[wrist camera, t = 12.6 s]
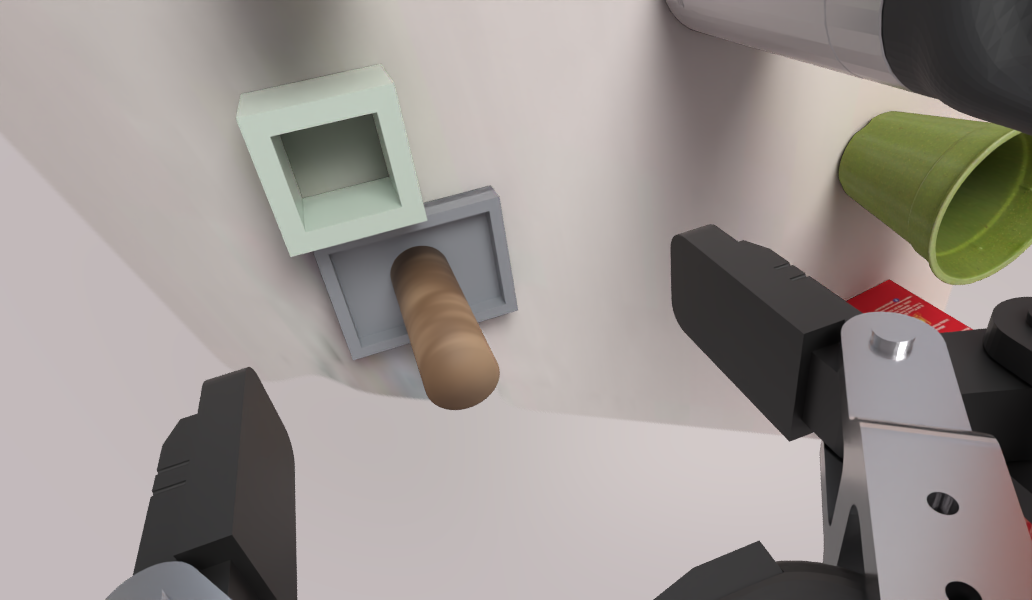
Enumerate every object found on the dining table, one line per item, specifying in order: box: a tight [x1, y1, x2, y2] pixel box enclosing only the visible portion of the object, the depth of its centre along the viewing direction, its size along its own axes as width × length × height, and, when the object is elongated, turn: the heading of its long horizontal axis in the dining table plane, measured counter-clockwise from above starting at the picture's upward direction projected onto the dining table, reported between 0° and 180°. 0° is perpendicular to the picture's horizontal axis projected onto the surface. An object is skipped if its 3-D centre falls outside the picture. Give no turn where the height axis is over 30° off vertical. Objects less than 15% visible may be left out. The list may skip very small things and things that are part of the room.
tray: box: [313, 186, 518, 360], centre depth 42 cm, size 12×9×2 cm
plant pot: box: [839, 111, 1032, 285], centre depth 46 cm, size 12×12×11 cm
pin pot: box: [236, 64, 427, 257], centre depth 35 cm, size 8×8×5 cm
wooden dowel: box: [390, 246, 500, 410], centre depth 37 cm, size 4×4×12 cm
